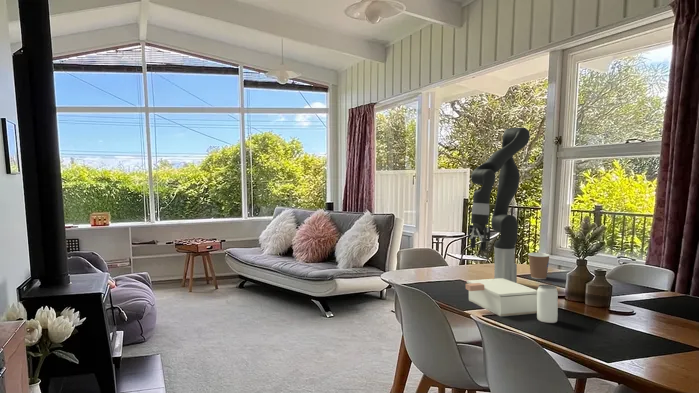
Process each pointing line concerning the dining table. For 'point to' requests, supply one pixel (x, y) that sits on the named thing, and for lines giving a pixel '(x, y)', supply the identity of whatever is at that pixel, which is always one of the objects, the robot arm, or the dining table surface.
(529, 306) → the box
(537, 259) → the coffee cup
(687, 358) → the dining table surface
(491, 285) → the mailer lid
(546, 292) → the can
